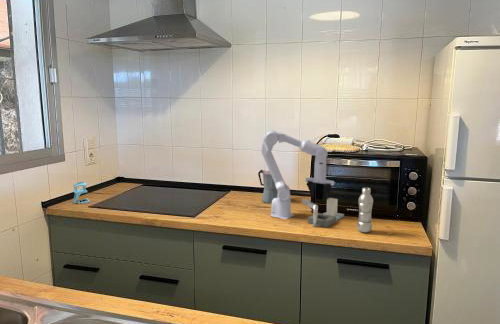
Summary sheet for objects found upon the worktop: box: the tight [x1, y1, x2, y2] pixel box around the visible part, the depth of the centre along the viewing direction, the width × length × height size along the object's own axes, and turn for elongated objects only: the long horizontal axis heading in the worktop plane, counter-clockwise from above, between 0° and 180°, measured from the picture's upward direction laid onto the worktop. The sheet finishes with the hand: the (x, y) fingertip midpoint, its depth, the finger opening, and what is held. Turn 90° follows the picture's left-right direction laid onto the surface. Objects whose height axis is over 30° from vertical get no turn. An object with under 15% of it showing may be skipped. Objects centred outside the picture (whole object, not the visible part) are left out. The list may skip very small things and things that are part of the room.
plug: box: [326, 197, 339, 216], centre depth 190 cm, size 4×4×8 cm
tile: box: [322, 211, 345, 222], centre depth 190 cm, size 9×9×2 cm
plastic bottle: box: [356, 187, 374, 233], centre depth 169 cm, size 6×7×20 cm
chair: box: [72, 181, 91, 204], centre depth 218 cm, size 8×8×12 cm
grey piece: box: [301, 198, 319, 228], centre depth 181 cm, size 13×2×10 cm, turn 19°
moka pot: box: [257, 169, 278, 204], centre depth 219 cm, size 10×15×20 cm, turn 58°
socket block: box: [307, 212, 337, 228], centre depth 182 cm, size 10×10×3 cm
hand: (319, 197), depth 190 cm, fingers open, 7 cm apart
